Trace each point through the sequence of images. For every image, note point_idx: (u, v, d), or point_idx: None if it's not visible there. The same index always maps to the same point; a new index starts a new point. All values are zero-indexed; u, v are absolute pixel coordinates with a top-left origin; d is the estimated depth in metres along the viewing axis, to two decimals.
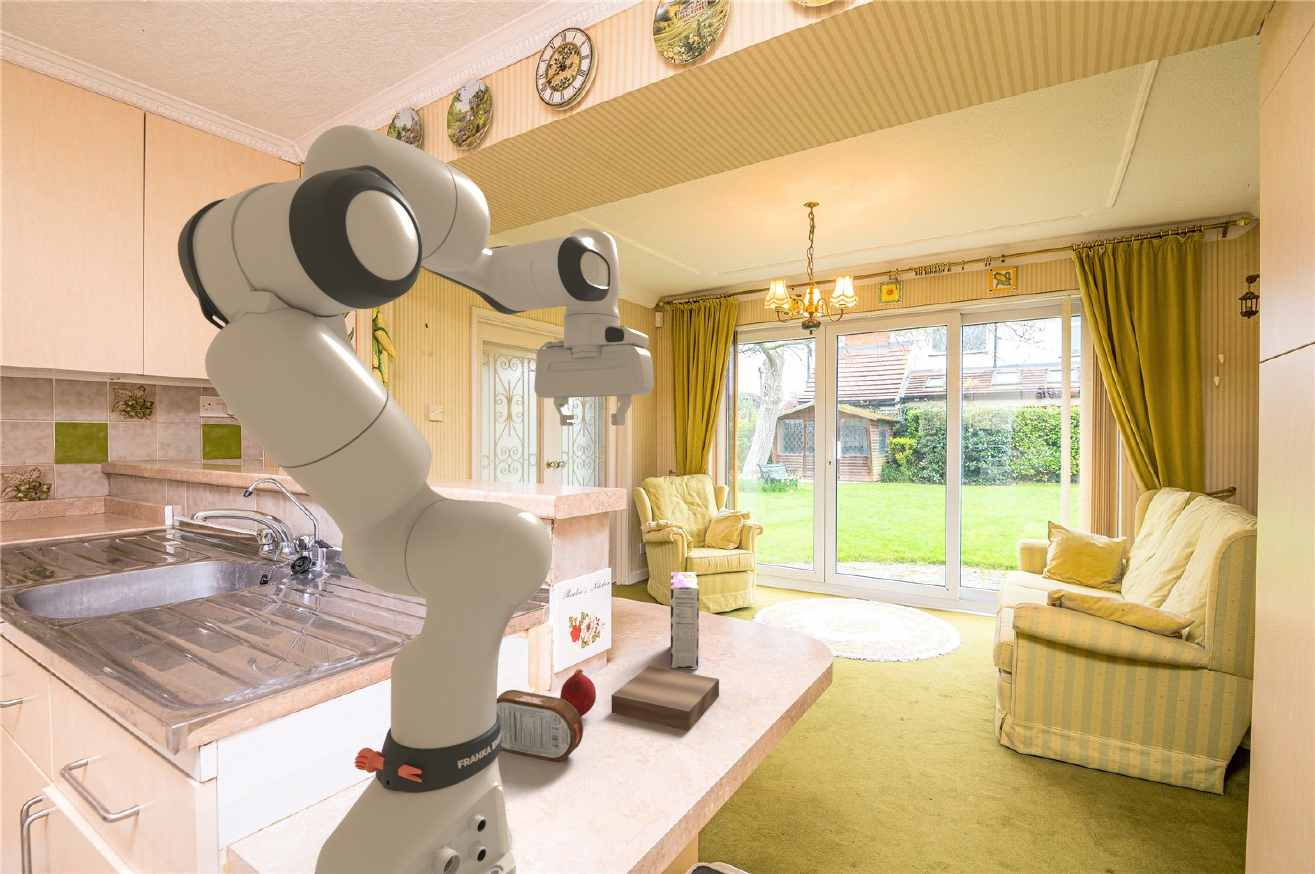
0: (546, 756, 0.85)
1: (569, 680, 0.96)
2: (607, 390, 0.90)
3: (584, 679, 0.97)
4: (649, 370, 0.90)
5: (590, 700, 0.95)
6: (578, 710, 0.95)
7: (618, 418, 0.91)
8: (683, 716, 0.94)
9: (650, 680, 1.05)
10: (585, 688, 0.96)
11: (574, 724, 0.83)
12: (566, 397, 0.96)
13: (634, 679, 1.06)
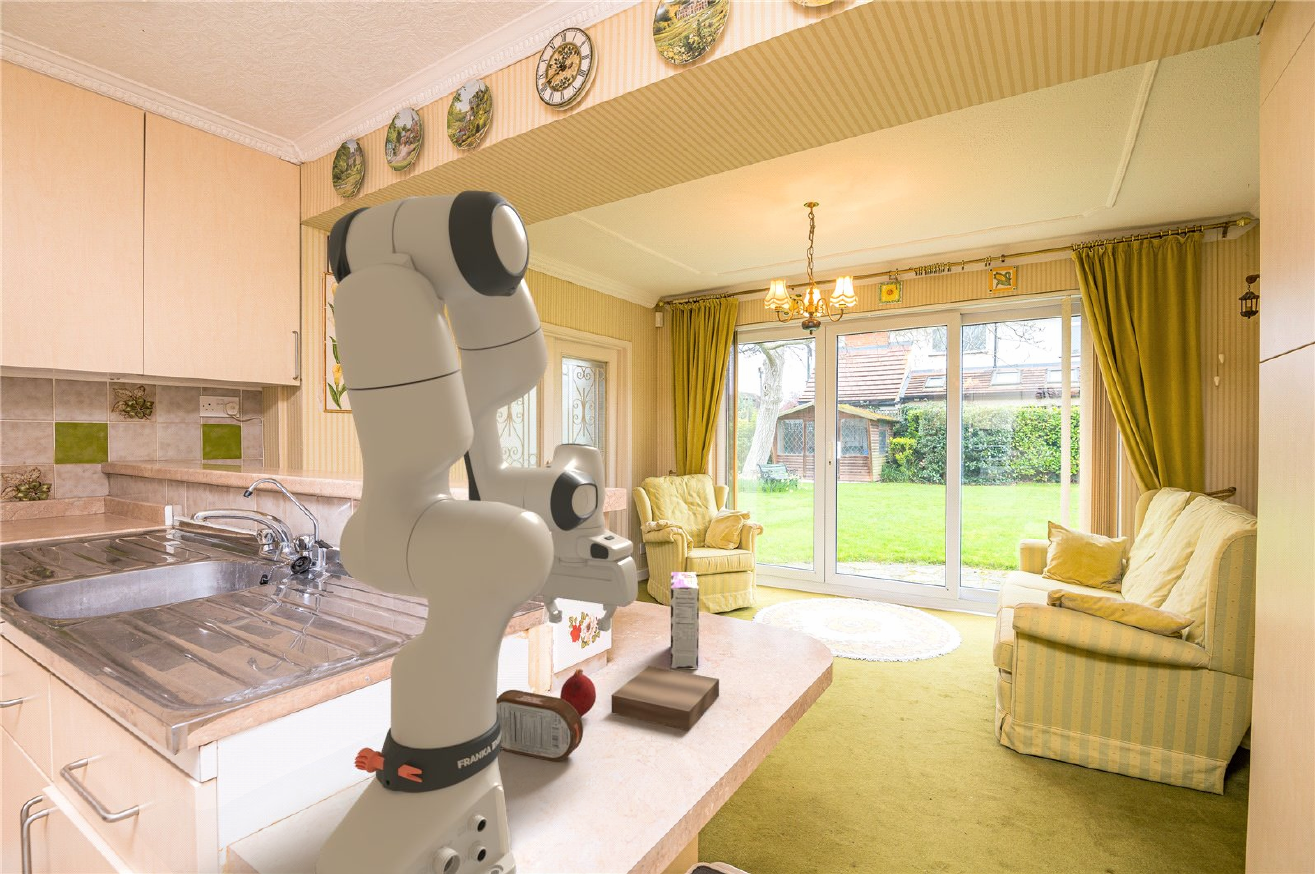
0: (546, 756, 0.85)
1: (569, 680, 0.96)
2: (593, 599, 0.94)
3: (584, 679, 0.97)
4: (633, 581, 0.94)
5: (590, 700, 0.95)
6: (578, 710, 0.95)
7: (604, 625, 0.95)
8: (683, 716, 0.94)
9: (650, 680, 1.05)
10: (585, 688, 0.95)
11: (574, 724, 0.83)
12: None
13: (634, 679, 1.06)
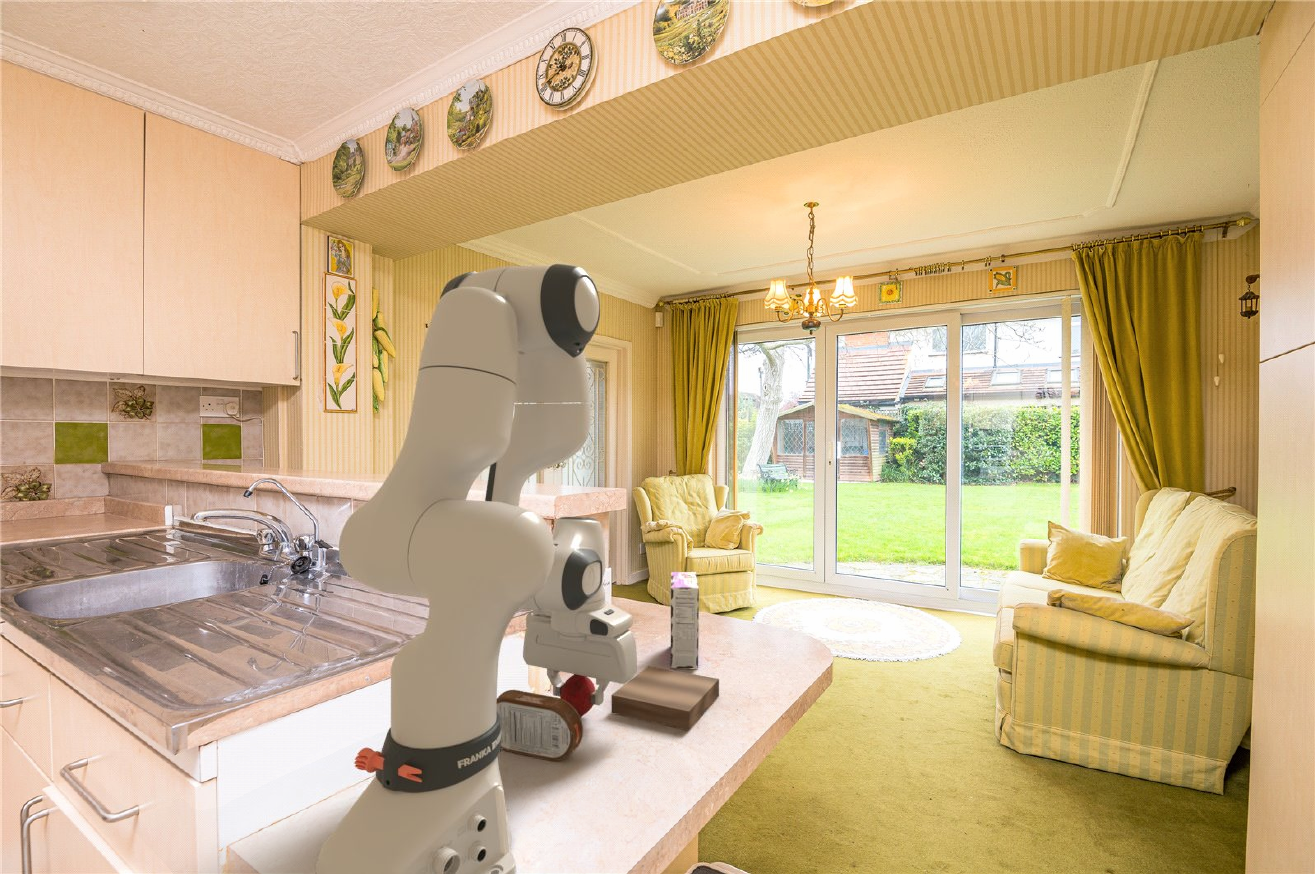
0: (546, 756, 0.85)
1: (569, 680, 0.96)
2: (592, 674, 0.94)
3: (584, 679, 0.97)
4: (633, 656, 0.94)
5: None
6: (578, 710, 0.95)
7: (597, 699, 0.95)
8: (683, 716, 0.94)
9: (650, 680, 1.05)
10: (585, 688, 0.96)
11: (574, 724, 0.83)
12: None
13: (634, 679, 1.06)
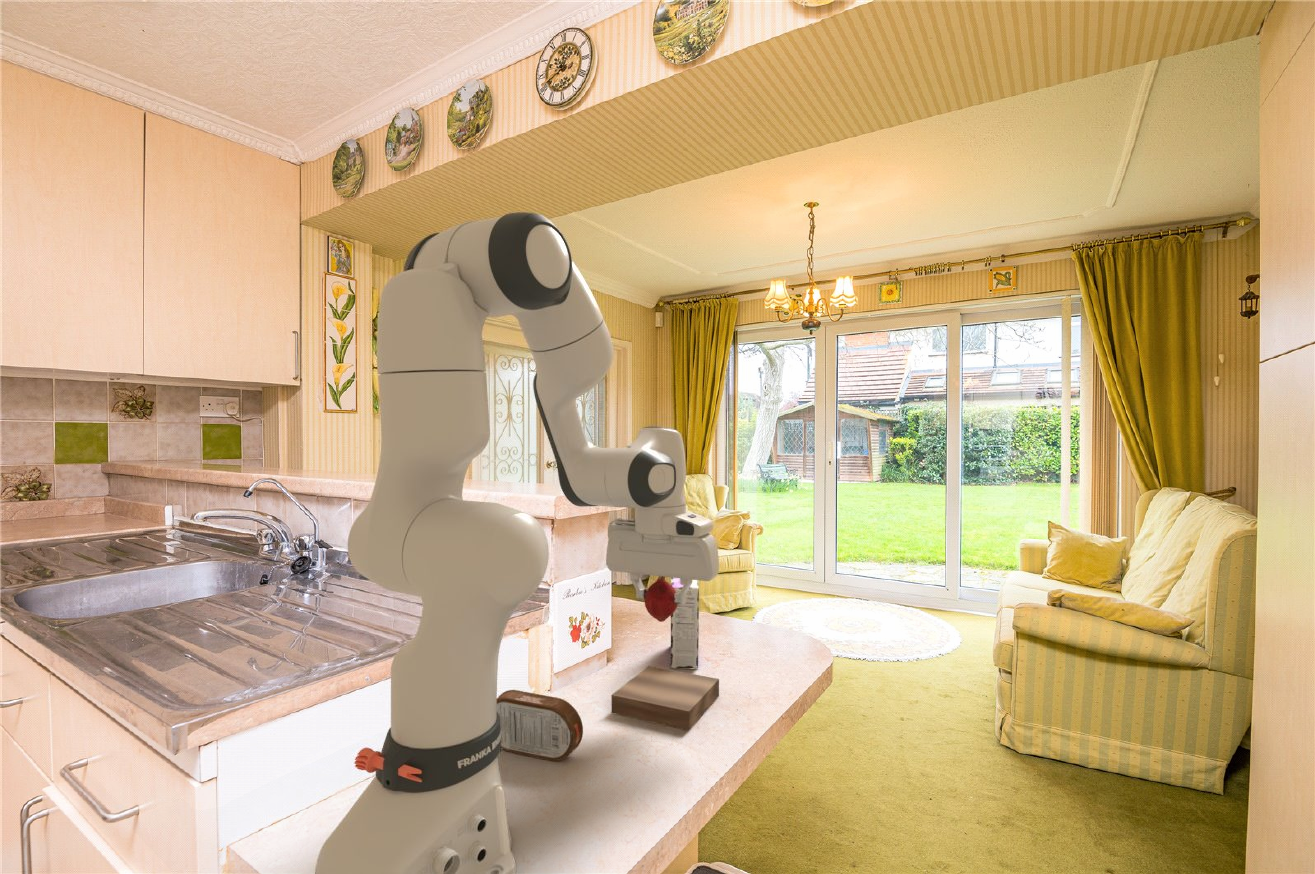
0: (546, 756, 0.85)
1: (653, 585, 1.02)
2: (677, 574, 0.99)
3: (667, 584, 1.02)
4: (716, 557, 0.99)
5: (674, 603, 1.01)
6: (664, 612, 1.00)
7: (681, 599, 1.00)
8: (683, 716, 0.94)
9: (650, 680, 1.05)
10: (669, 592, 1.01)
11: (574, 724, 0.83)
12: None
13: (634, 679, 1.06)
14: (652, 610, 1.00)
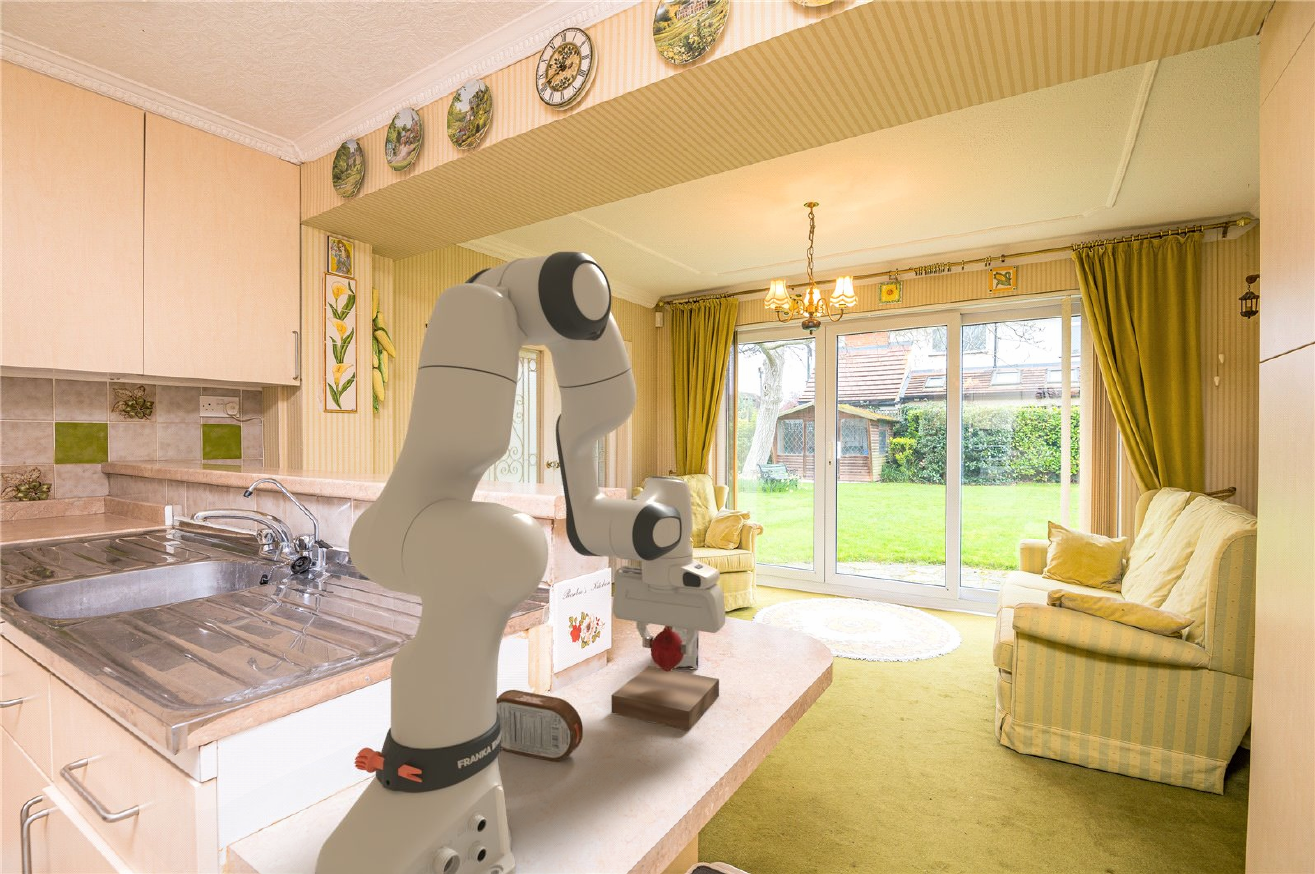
0: (546, 756, 0.85)
1: (660, 635, 1.02)
2: (683, 625, 0.99)
3: (674, 634, 1.02)
4: (722, 608, 0.99)
5: (680, 653, 1.01)
6: (670, 662, 1.00)
7: (687, 649, 1.00)
8: (683, 716, 0.94)
9: (650, 680, 1.05)
10: (676, 642, 1.01)
11: (574, 724, 0.83)
12: None
13: (634, 679, 1.06)
14: (659, 661, 1.00)
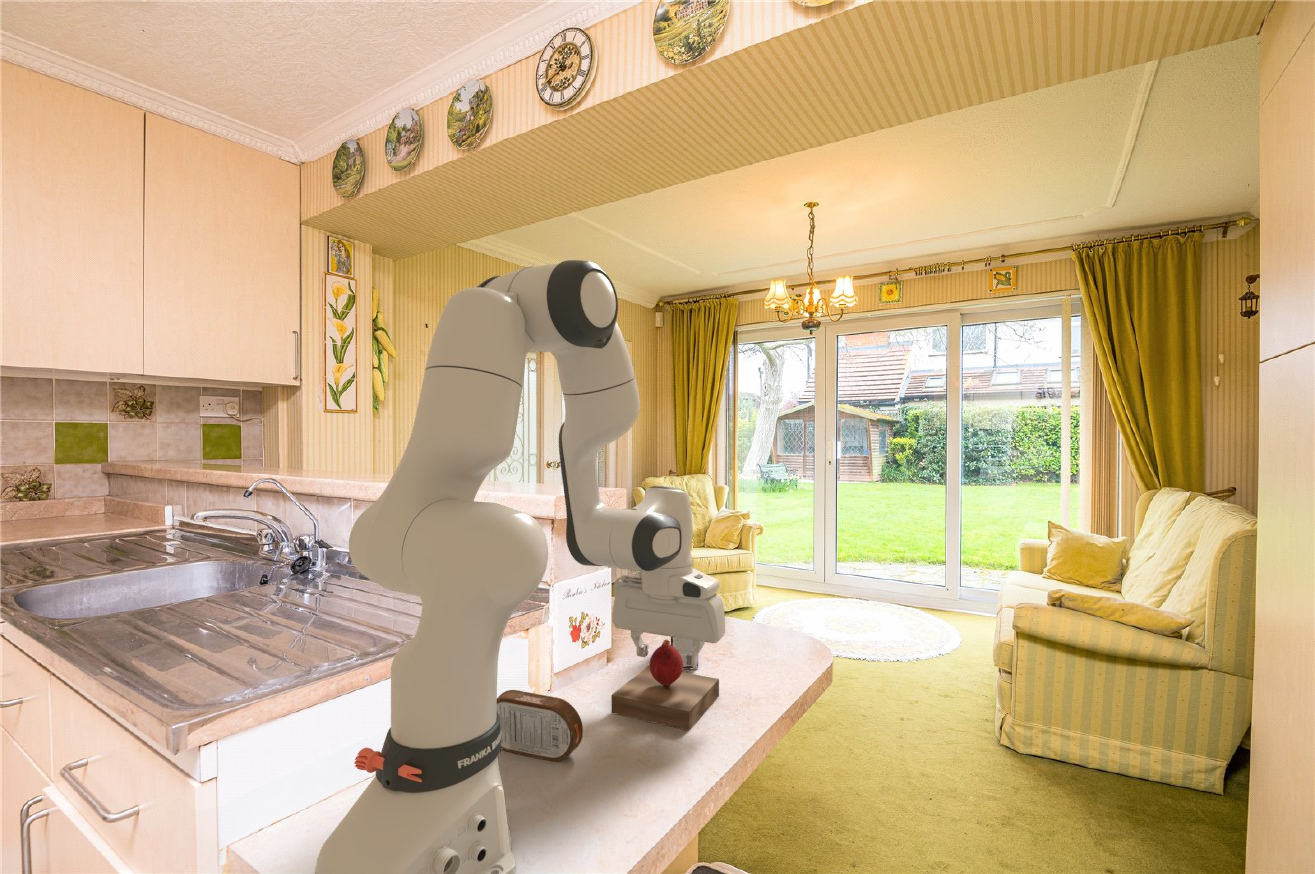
0: (546, 756, 0.85)
1: (658, 650, 1.02)
2: (683, 635, 0.99)
3: (672, 649, 1.02)
4: (722, 618, 0.99)
5: (679, 668, 1.01)
6: (669, 678, 1.00)
7: (693, 660, 0.99)
8: (683, 716, 0.94)
9: (650, 680, 1.05)
10: (674, 657, 1.01)
11: (574, 724, 0.83)
12: None
13: (634, 679, 1.06)
14: (658, 676, 1.00)
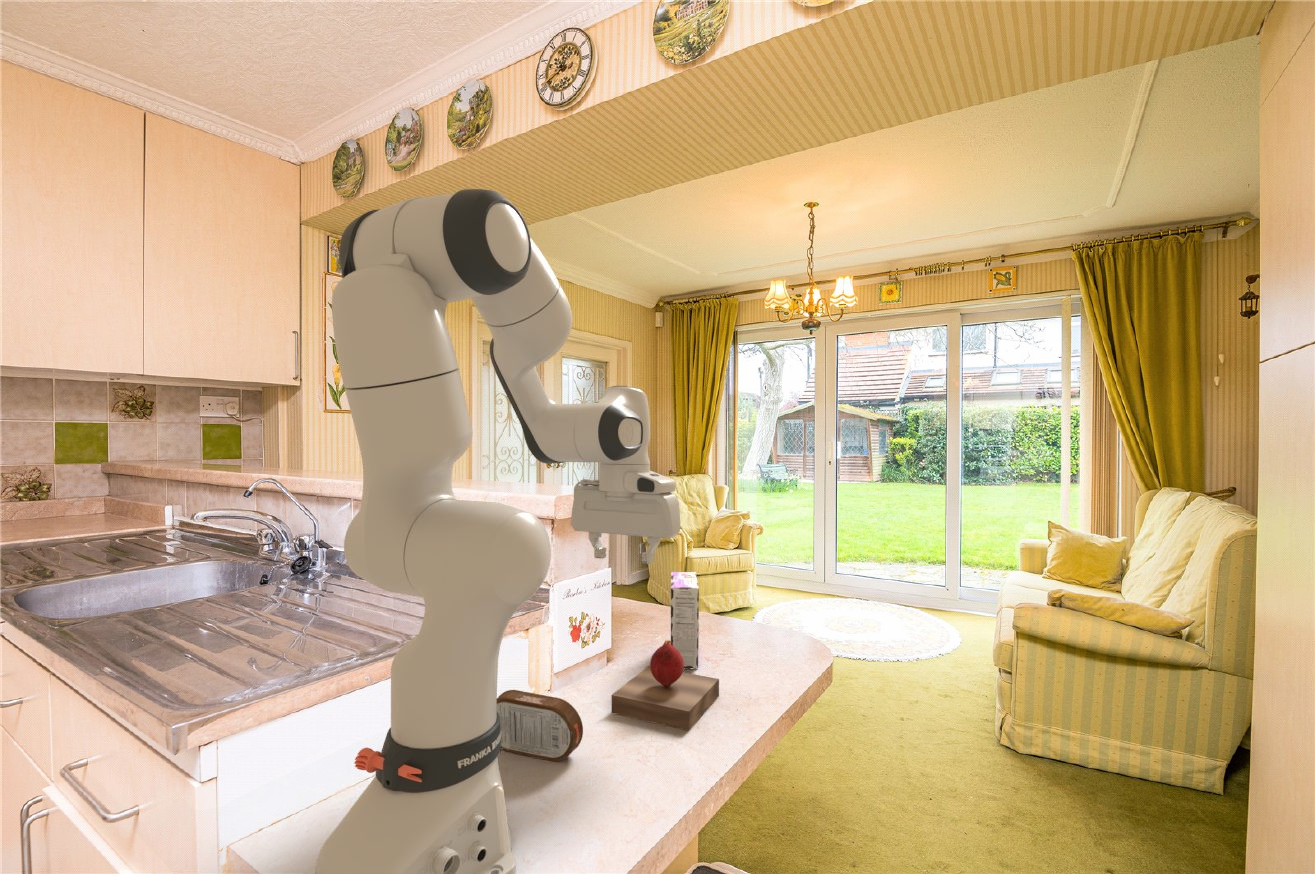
0: (546, 756, 0.85)
1: (659, 650, 1.02)
2: (638, 532, 1.00)
3: (673, 649, 1.02)
4: (677, 515, 0.99)
5: (680, 669, 1.01)
6: (669, 678, 1.00)
7: (648, 558, 1.00)
8: (683, 716, 0.94)
9: (650, 680, 1.05)
10: (675, 658, 1.01)
11: (574, 724, 0.83)
12: None
13: (634, 679, 1.06)
14: (658, 676, 1.00)
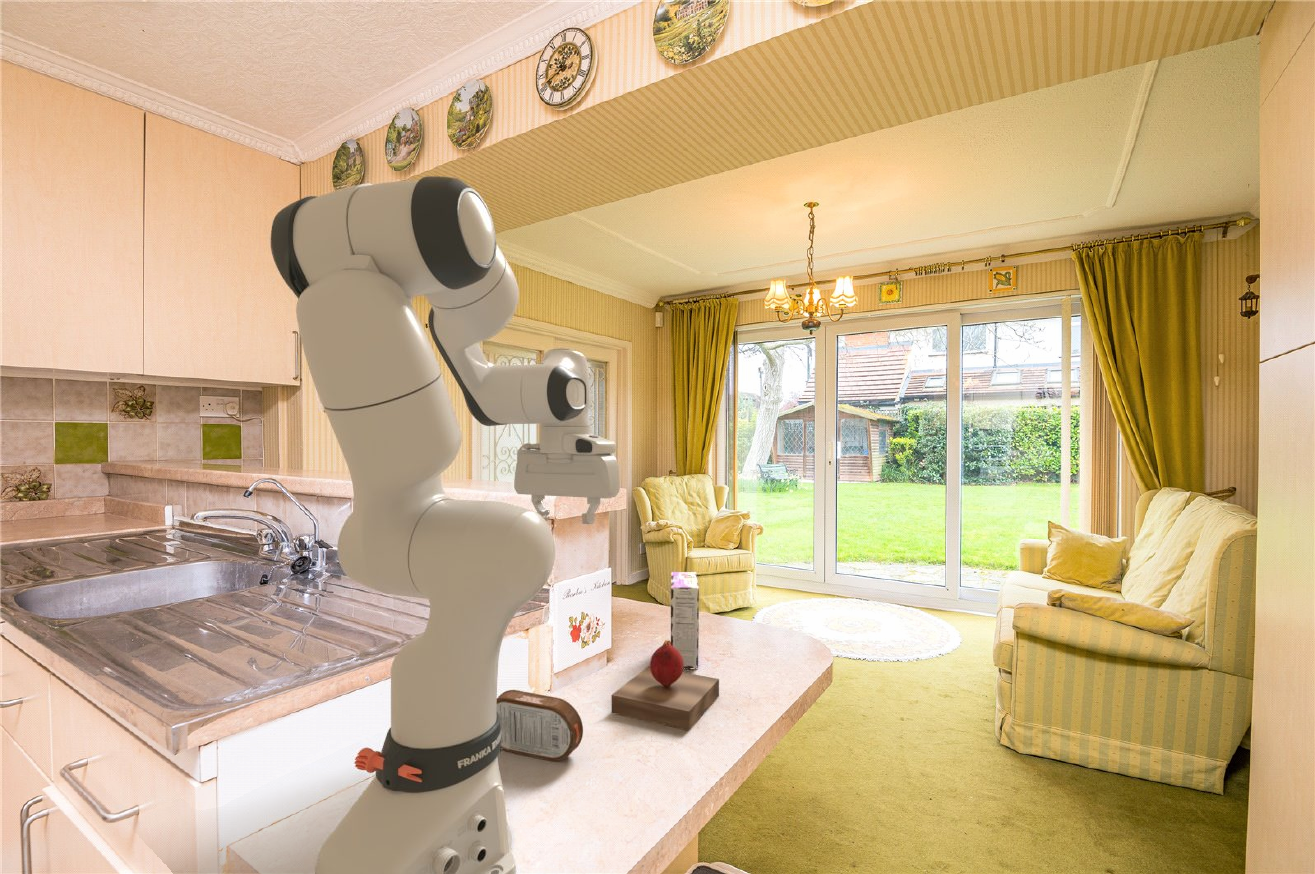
0: (546, 756, 0.85)
1: (659, 650, 1.02)
2: (578, 493, 1.01)
3: (673, 649, 1.02)
4: (615, 476, 1.01)
5: (679, 669, 1.01)
6: (669, 678, 1.00)
7: (588, 518, 1.01)
8: (683, 716, 0.94)
9: (650, 680, 1.05)
10: (675, 658, 1.01)
11: (574, 724, 0.83)
12: None
13: (634, 679, 1.06)
14: (658, 676, 1.00)
